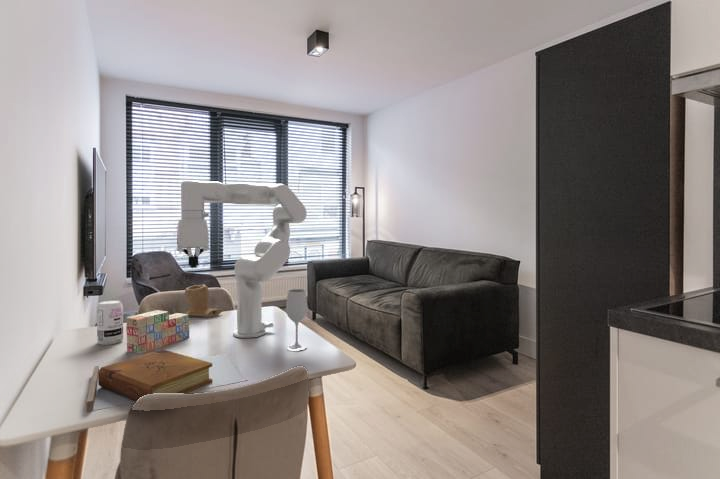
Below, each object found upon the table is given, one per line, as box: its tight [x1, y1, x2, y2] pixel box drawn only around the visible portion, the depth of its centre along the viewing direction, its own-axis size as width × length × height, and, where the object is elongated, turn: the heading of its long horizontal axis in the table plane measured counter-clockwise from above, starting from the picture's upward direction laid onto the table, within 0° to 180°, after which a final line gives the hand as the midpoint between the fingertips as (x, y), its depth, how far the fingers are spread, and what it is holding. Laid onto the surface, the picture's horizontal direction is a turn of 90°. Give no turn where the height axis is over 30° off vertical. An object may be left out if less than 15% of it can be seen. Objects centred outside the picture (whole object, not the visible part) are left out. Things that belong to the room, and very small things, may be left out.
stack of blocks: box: [126, 309, 190, 355], centre depth 146 cm, size 21×6×12 cm, turn 154°
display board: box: [86, 353, 248, 413], centre depth 116 cm, size 38×26×3 cm
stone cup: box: [184, 284, 223, 318], centre depth 188 cm, size 15×12×15 cm
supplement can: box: [96, 299, 124, 346], centre depth 148 cm, size 8×8×15 cm
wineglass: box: [285, 288, 308, 349], centre depth 143 cm, size 8×8×21 cm
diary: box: [98, 348, 212, 401], centre depth 110 cm, size 23×19×6 cm
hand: (193, 267), depth 141 cm, fingers closed
